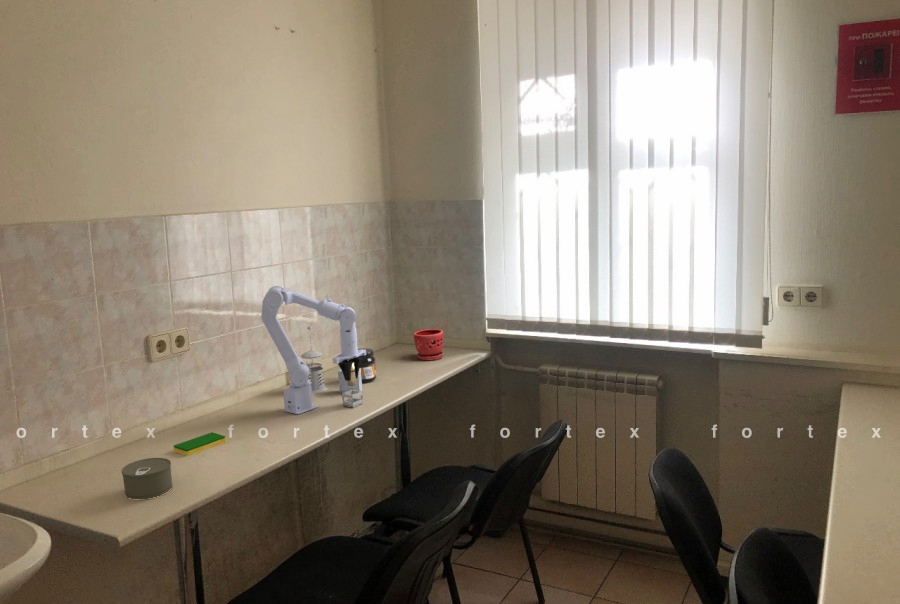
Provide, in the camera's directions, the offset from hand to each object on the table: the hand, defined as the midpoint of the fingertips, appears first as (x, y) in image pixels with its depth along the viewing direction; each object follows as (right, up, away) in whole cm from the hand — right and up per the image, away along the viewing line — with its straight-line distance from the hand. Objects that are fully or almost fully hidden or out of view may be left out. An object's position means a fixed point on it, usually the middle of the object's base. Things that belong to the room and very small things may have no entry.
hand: (351, 379), depth 259 cm
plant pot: (+26, +2, +65) cm, 70 cm away
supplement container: (0, -4, +33) cm, 34 cm away
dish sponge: (-42, -18, -34) cm, 57 cm away
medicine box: (-3, -7, +18) cm, 20 cm away
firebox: (0, -9, +2) cm, 9 cm away
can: (-44, -23, -65) cm, 82 cm away
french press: (-17, -7, +22) cm, 29 cm away
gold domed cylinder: (0, -2, 0) cm, 2 cm away
